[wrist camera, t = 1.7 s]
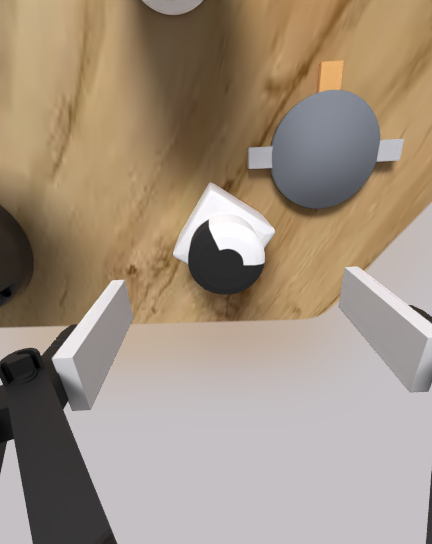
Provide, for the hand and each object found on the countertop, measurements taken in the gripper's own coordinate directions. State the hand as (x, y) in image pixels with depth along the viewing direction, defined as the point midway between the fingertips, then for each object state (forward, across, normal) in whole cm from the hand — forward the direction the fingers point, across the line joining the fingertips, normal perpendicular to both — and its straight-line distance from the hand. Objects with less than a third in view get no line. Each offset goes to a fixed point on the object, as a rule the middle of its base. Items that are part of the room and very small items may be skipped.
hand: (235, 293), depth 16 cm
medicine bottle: (+17, 0, 0) cm, 17 cm away
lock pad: (+16, +11, +8) cm, 21 cm away
